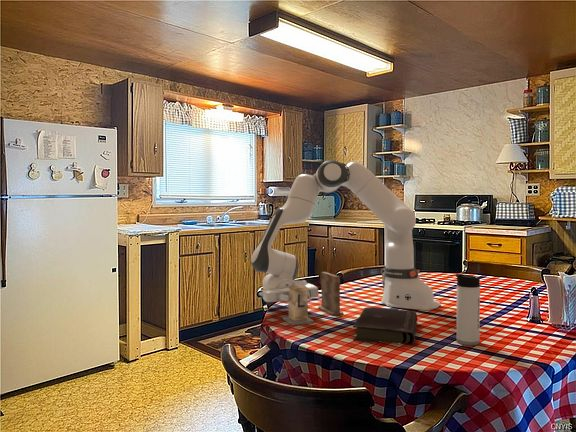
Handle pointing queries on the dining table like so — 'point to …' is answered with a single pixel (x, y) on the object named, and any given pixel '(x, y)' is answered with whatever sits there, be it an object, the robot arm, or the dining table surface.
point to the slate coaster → (297, 321)
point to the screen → (330, 294)
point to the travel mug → (468, 310)
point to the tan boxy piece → (298, 302)
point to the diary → (386, 325)
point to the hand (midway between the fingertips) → (298, 297)
